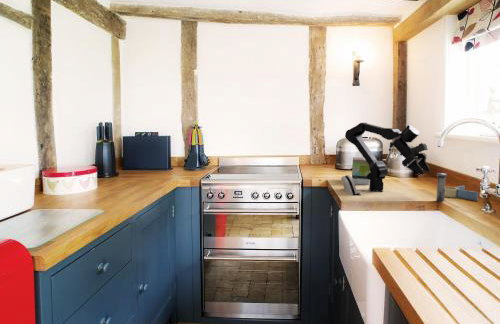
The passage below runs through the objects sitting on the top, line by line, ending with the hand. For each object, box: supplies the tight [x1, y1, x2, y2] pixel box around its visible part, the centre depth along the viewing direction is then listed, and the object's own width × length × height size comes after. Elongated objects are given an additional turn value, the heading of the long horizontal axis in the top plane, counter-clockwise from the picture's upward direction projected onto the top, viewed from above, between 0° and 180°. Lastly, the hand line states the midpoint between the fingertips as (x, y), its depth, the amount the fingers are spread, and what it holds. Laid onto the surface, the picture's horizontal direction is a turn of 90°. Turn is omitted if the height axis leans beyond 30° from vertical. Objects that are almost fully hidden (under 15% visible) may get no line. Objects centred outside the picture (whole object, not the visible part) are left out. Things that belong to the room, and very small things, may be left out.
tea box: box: [351, 156, 370, 186], centre depth 223 cm, size 15×10×15 cm, turn 165°
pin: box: [436, 172, 448, 203], centre depth 175 cm, size 4×4×13 cm
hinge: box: [340, 174, 361, 196], centre depth 195 cm, size 17×5×10 cm, turn 177°
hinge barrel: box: [444, 184, 479, 202], centre depth 186 cm, size 13×19×4 cm
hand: (426, 172), depth 178 cm, fingers open, 9 cm apart
